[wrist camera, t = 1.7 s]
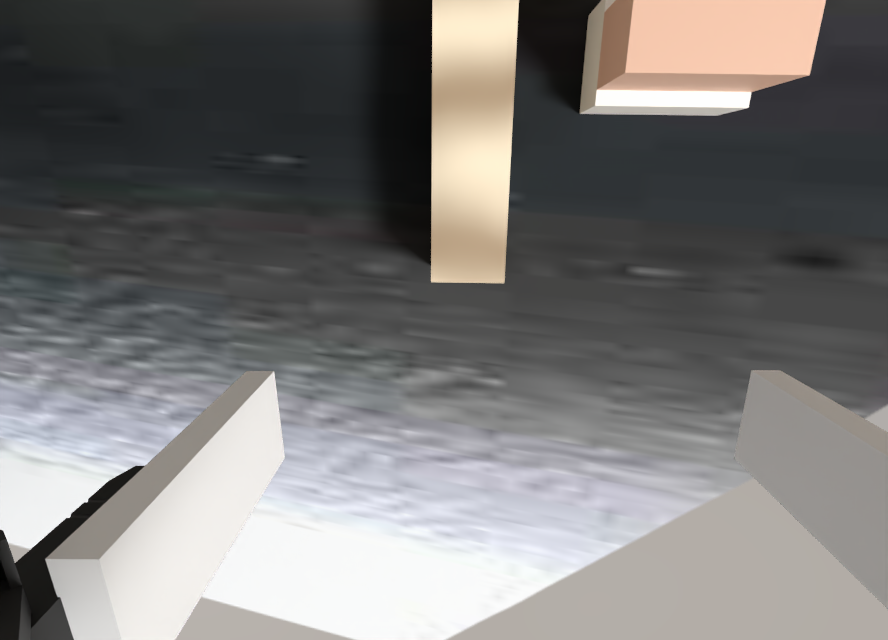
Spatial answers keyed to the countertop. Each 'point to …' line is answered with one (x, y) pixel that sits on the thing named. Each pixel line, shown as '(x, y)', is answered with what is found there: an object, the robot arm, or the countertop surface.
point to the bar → (471, 137)
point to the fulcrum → (693, 53)
